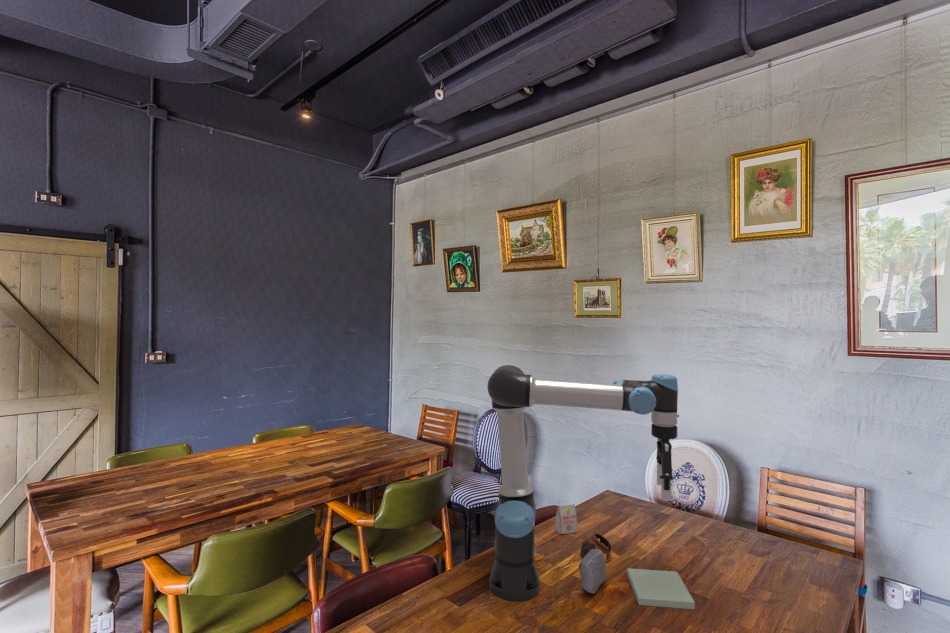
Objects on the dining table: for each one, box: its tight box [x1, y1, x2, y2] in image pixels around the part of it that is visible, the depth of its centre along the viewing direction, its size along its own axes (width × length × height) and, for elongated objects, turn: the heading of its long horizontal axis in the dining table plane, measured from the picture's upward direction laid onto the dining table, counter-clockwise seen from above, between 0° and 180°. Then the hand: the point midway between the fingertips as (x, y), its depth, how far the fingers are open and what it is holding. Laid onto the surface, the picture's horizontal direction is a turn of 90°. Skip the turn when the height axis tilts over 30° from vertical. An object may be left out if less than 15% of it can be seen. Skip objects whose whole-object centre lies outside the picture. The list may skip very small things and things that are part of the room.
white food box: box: [555, 503, 578, 535], centre depth 177 cm, size 4×7×10 cm, turn 106°
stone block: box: [578, 548, 607, 594], centre depth 139 cm, size 12×5×10 cm, turn 144°
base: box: [626, 567, 696, 610], centre depth 138 cm, size 15×16×2 cm
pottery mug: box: [579, 532, 613, 562], centre depth 156 cm, size 12×9×8 cm
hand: (663, 492), depth 146 cm, fingers open, 13 cm apart
